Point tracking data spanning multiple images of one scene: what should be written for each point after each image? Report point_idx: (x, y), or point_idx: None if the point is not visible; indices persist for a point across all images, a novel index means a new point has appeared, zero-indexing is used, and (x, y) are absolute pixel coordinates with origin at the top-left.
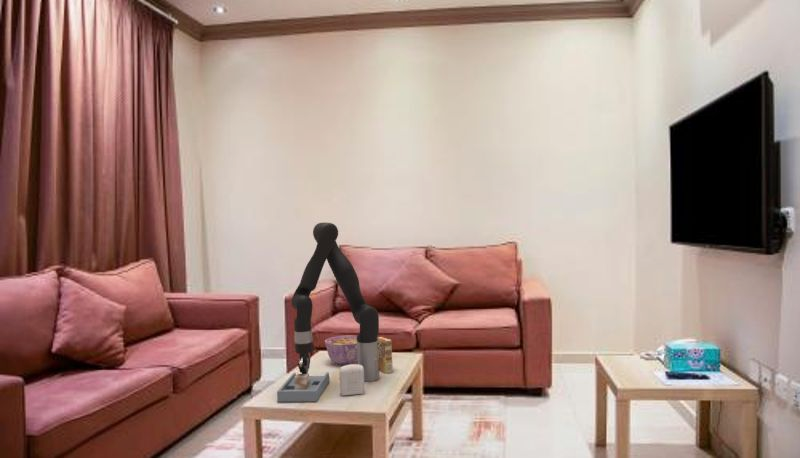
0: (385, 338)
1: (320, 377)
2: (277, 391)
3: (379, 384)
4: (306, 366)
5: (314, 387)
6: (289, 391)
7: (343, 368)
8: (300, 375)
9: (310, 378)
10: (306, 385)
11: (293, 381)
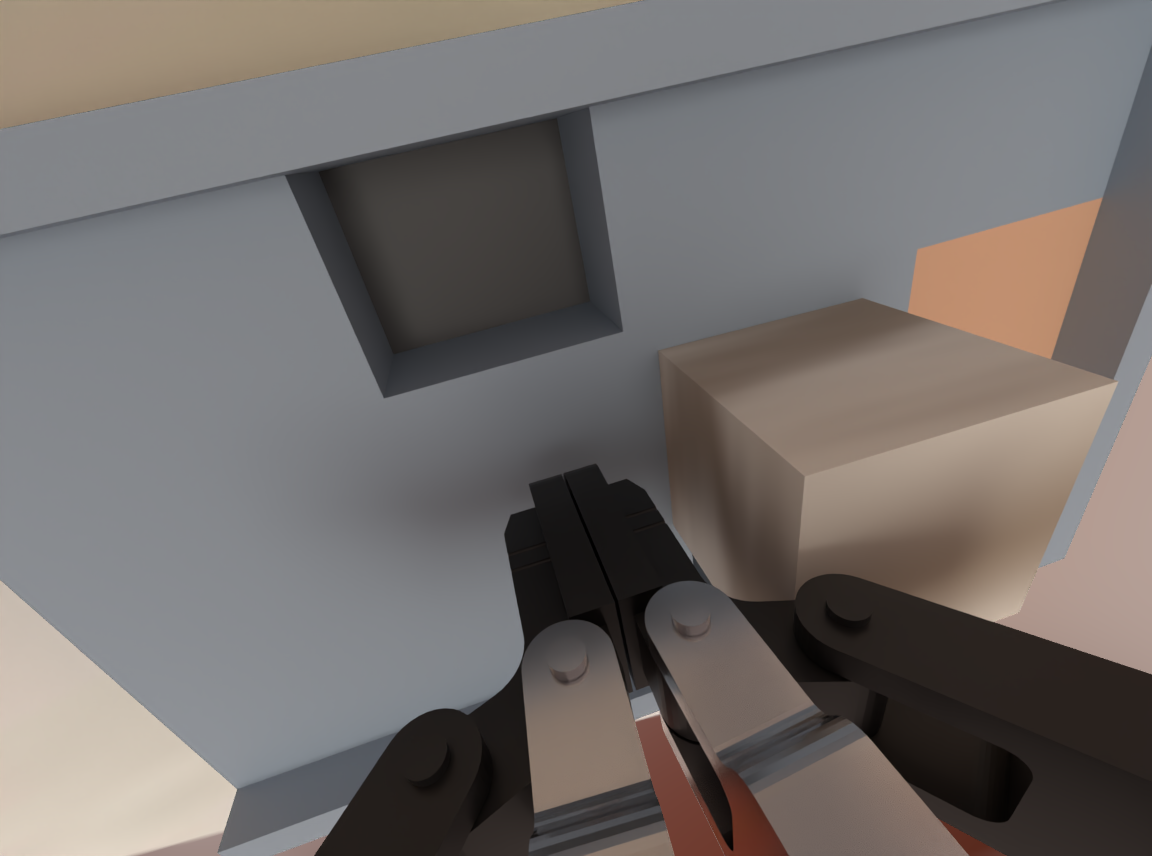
0: None
1: (14, 401)
2: (1064, 554)
3: None
4: (879, 785)
5: (777, 180)
6: (1119, 424)
7: None
8: (928, 579)
9: (232, 555)
10: (894, 319)
11: (502, 671)
